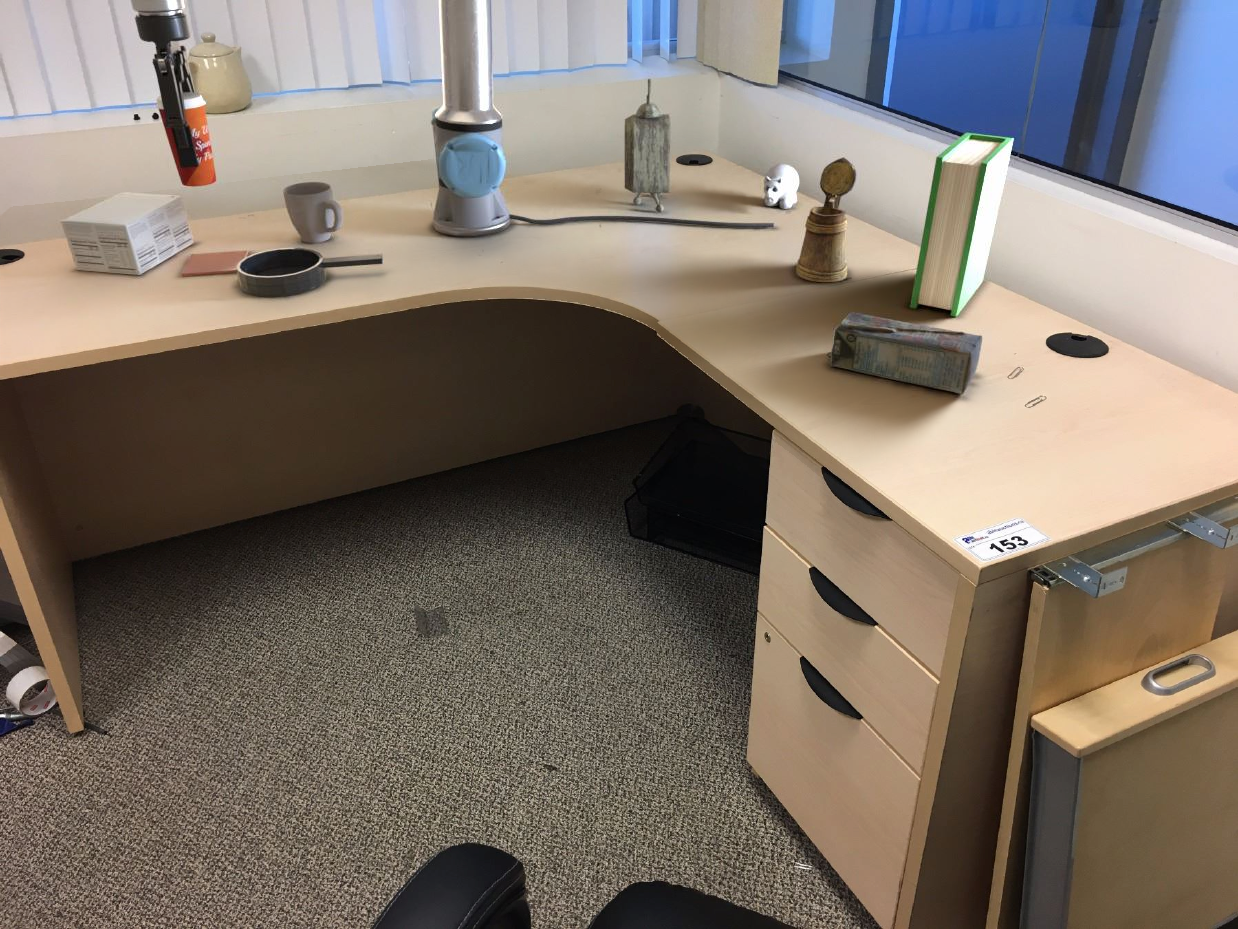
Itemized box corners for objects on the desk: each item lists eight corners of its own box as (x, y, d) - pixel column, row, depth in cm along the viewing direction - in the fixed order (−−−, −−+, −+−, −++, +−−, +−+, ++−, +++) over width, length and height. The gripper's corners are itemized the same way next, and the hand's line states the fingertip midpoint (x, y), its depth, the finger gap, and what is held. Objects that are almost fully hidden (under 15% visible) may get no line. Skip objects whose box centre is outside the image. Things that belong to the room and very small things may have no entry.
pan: (328, 264, 170) (325, 245, 168) (323, 293, 159) (319, 273, 157) (247, 269, 168) (242, 250, 166) (235, 300, 156) (230, 280, 154)
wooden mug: (856, 259, 171) (870, 159, 161) (841, 285, 161) (855, 179, 151) (807, 253, 174) (818, 154, 164) (790, 278, 164) (800, 174, 154)
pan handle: (382, 259, 166) (382, 253, 165) (382, 264, 164) (381, 258, 163) (324, 263, 164) (323, 257, 164) (323, 268, 162) (322, 262, 162)
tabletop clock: (668, 215, 193) (671, 86, 180) (624, 215, 193) (624, 86, 180) (666, 194, 205) (669, 72, 192) (625, 194, 205) (625, 72, 192)
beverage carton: (845, 346, 141) (851, 305, 137) (977, 374, 133) (987, 331, 129) (828, 367, 135) (833, 324, 131) (965, 398, 127) (975, 354, 123)
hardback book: (956, 316, 150) (987, 163, 137) (910, 307, 153) (936, 156, 140) (982, 281, 162) (1013, 138, 149) (939, 273, 165) (966, 132, 153)
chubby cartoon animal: (748, 214, 194) (751, 172, 189) (769, 198, 203) (772, 158, 198) (782, 219, 191) (785, 177, 186) (801, 203, 200) (805, 162, 195)
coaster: (248, 253, 175) (247, 250, 175) (240, 272, 167) (240, 269, 167) (192, 256, 174) (191, 254, 173) (181, 276, 165) (180, 273, 165)
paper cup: (207, 189, 158) (186, 101, 150) (165, 186, 159) (143, 99, 151) (232, 176, 164) (213, 92, 157) (192, 174, 165) (172, 90, 158)
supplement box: (134, 239, 182) (120, 190, 177) (195, 243, 180) (183, 195, 174) (74, 270, 168) (57, 219, 163) (140, 275, 166) (125, 223, 161)
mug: (282, 241, 181) (272, 191, 175) (315, 228, 187) (307, 179, 182) (329, 251, 176) (320, 200, 171) (361, 237, 182) (354, 188, 177)
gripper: (148, 4, 155) (182, 146, 167) (118, 21, 138) (158, 177, 150) (196, 3, 156) (226, 144, 169) (172, 20, 139) (207, 175, 152)
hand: (194, 159), depth 159 cm, fingers closed on paper cup, 8 cm apart
